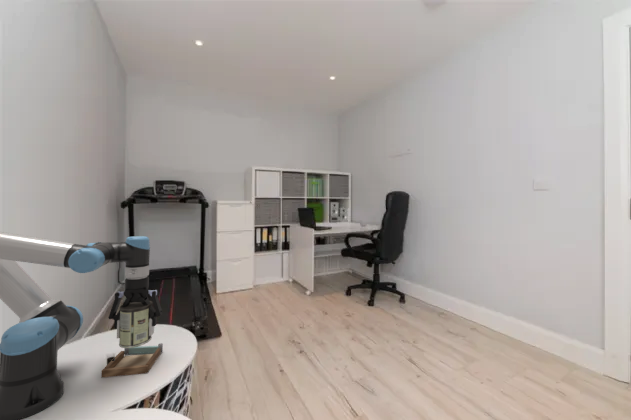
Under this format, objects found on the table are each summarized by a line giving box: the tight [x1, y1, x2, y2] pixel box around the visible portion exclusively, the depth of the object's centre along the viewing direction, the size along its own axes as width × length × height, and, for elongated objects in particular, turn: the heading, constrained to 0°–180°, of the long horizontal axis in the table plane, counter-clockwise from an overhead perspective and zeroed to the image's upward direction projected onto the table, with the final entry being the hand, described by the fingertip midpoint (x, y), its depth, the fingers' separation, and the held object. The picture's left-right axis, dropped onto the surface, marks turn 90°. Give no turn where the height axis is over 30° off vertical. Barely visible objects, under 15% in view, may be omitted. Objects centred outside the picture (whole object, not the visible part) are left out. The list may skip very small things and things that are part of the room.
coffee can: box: [118, 300, 153, 349], centre depth 99 cm, size 10×10×14 cm
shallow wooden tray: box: [100, 348, 162, 379], centre depth 98 cm, size 14×13×2 cm
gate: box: [123, 343, 164, 356], centre depth 106 cm, size 14×2×3 cm, turn 97°
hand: (135, 335), depth 99 cm, fingers closed on coffee can, 10 cm apart
